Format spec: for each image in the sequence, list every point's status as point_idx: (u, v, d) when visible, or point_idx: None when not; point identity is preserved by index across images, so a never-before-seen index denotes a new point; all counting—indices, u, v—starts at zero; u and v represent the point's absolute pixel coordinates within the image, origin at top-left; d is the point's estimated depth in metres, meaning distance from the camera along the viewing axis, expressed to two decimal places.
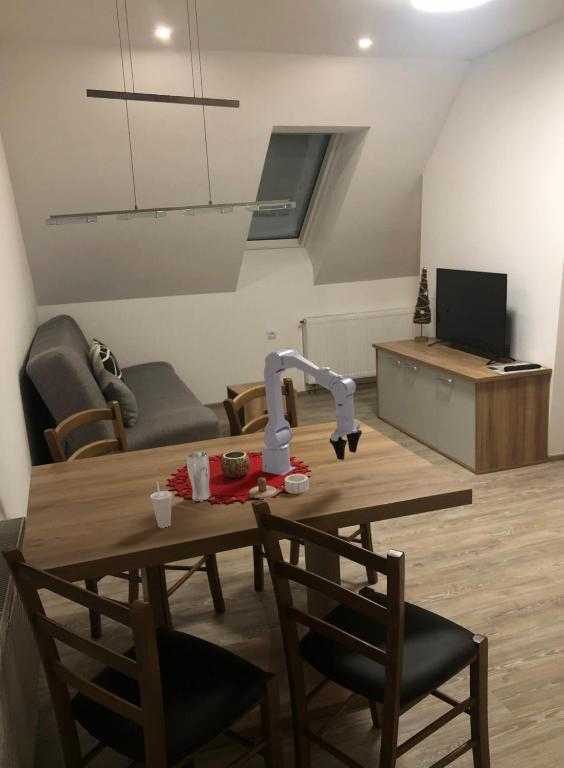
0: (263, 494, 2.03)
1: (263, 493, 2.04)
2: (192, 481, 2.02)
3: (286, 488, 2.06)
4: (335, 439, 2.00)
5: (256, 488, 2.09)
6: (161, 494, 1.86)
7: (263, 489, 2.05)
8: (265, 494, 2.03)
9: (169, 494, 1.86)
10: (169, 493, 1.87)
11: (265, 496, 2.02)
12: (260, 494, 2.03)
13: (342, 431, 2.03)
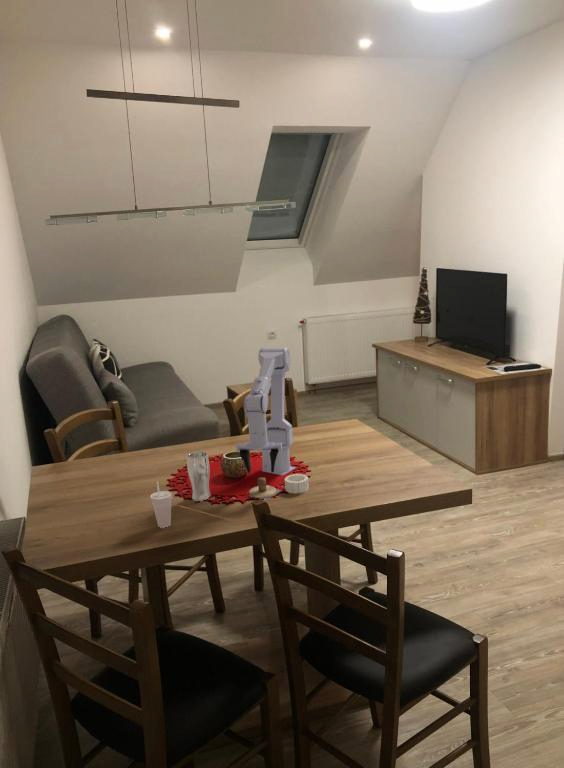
0: (263, 494, 2.03)
1: (263, 493, 2.04)
2: (192, 481, 2.02)
3: (286, 488, 2.06)
4: (236, 449, 2.04)
5: (256, 488, 2.09)
6: (161, 494, 1.86)
7: (263, 489, 2.05)
8: (265, 494, 2.03)
9: (169, 494, 1.86)
10: (169, 493, 1.87)
11: (265, 496, 2.02)
12: (260, 494, 2.03)
13: (249, 445, 2.03)
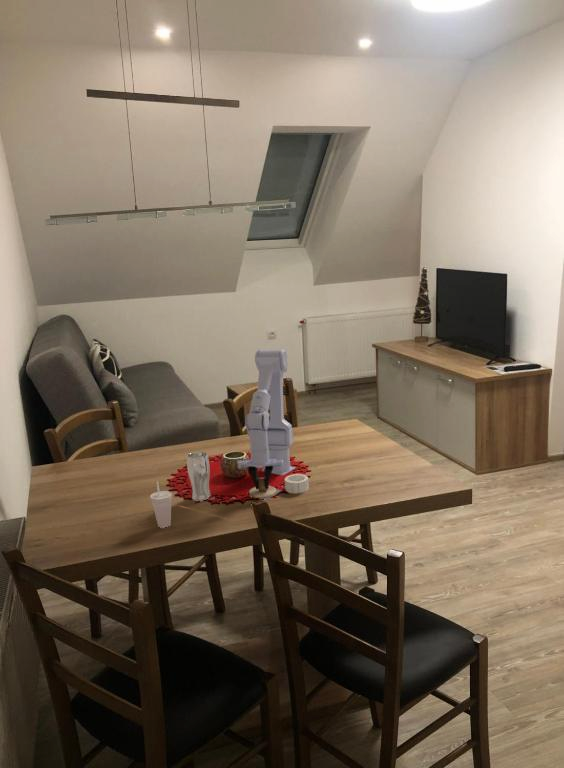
0: (263, 494, 2.03)
1: (263, 493, 2.04)
2: (192, 481, 2.02)
3: (286, 488, 2.06)
4: (238, 466, 2.05)
5: None
6: (161, 494, 1.86)
7: (263, 489, 2.05)
8: (265, 494, 2.03)
9: (169, 494, 1.86)
10: (169, 493, 1.87)
11: (265, 496, 2.02)
12: (260, 494, 2.03)
13: (251, 462, 2.04)
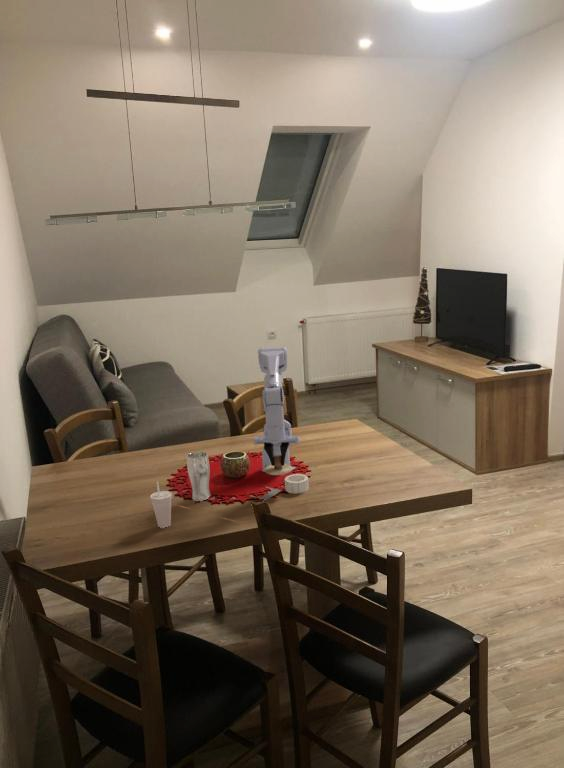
0: (279, 471, 2.02)
1: (279, 470, 2.03)
2: (192, 481, 2.02)
3: (286, 488, 2.06)
4: None
5: (272, 466, 2.08)
6: (161, 494, 1.86)
7: (279, 466, 2.04)
8: (281, 471, 2.02)
9: (169, 494, 1.86)
10: (169, 493, 1.87)
11: (280, 473, 2.01)
12: (275, 471, 2.02)
13: (267, 438, 2.03)
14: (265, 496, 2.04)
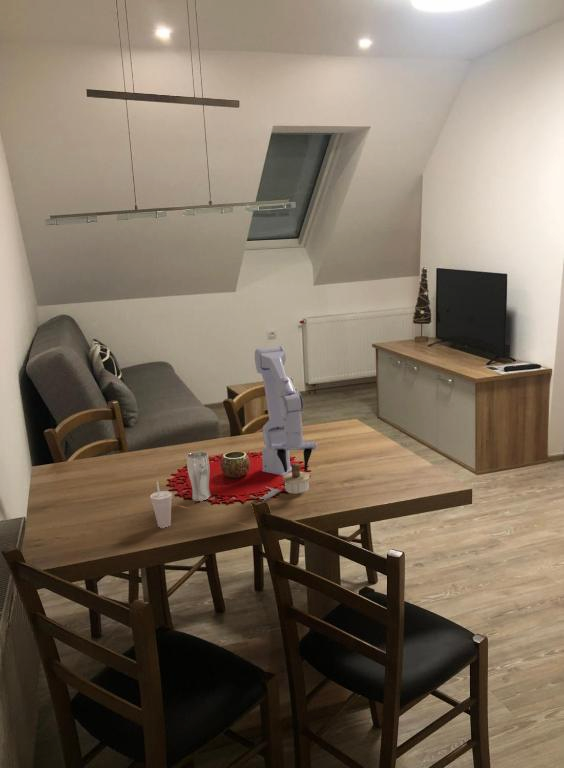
0: (297, 480, 2.04)
1: (297, 478, 2.05)
2: (192, 481, 2.02)
3: (286, 488, 2.06)
4: (271, 449, 2.05)
5: (289, 474, 2.09)
6: (161, 494, 1.86)
7: (297, 475, 2.06)
8: (299, 480, 2.04)
9: (169, 494, 1.86)
10: (169, 493, 1.87)
11: (299, 481, 2.03)
12: (294, 480, 2.04)
13: (285, 444, 2.04)
14: (265, 496, 2.04)
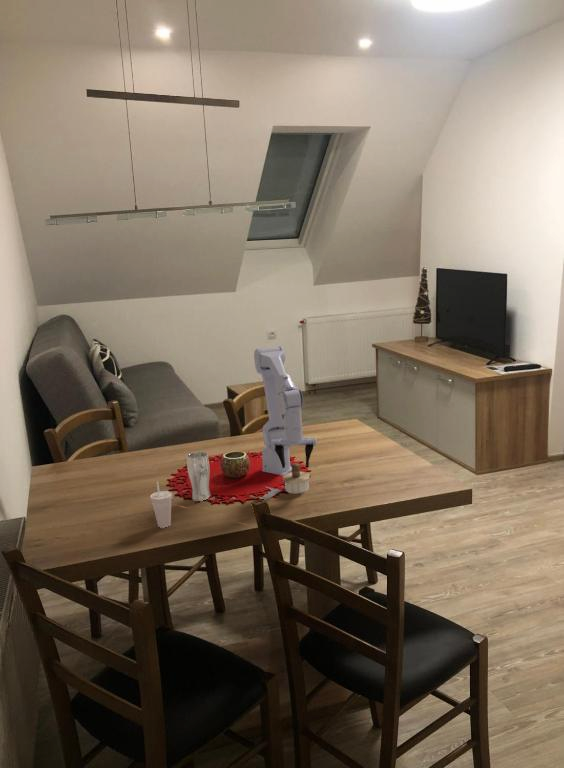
0: (297, 480, 2.04)
1: (297, 478, 2.05)
2: (192, 481, 2.02)
3: (286, 488, 2.06)
4: (271, 445, 2.05)
5: (289, 474, 2.09)
6: (161, 494, 1.86)
7: (297, 475, 2.06)
8: (299, 480, 2.04)
9: (169, 494, 1.86)
10: (169, 493, 1.87)
11: (299, 481, 2.03)
12: (294, 480, 2.04)
13: (284, 440, 2.04)
14: (265, 496, 2.04)
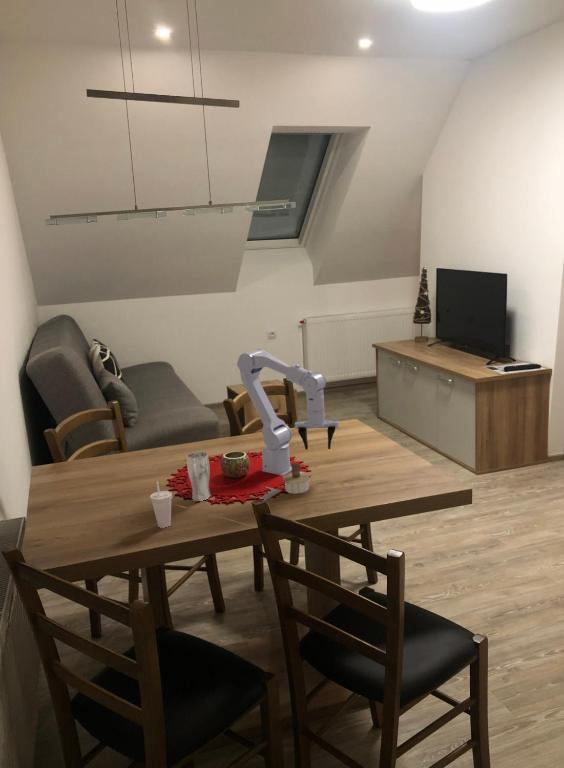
0: (297, 480, 2.04)
1: (297, 478, 2.05)
2: (192, 481, 2.02)
3: (286, 488, 2.06)
4: (295, 427, 2.14)
5: (289, 474, 2.09)
6: (161, 494, 1.86)
7: (297, 475, 2.06)
8: (299, 480, 2.04)
9: (169, 494, 1.86)
10: (169, 493, 1.87)
11: (299, 481, 2.03)
12: (294, 480, 2.04)
13: (307, 423, 2.13)
14: (265, 496, 2.04)
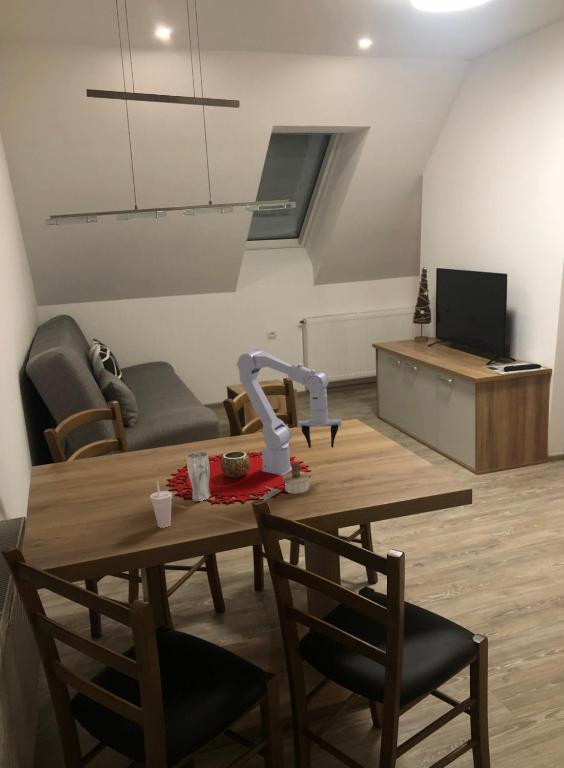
0: (297, 480, 2.04)
1: (297, 478, 2.05)
2: (192, 481, 2.02)
3: (286, 488, 2.06)
4: (298, 426, 2.15)
5: (289, 474, 2.09)
6: (161, 494, 1.86)
7: (297, 475, 2.06)
8: (299, 480, 2.04)
9: (169, 494, 1.86)
10: (169, 493, 1.87)
11: (299, 481, 2.03)
12: (294, 480, 2.04)
13: (311, 421, 2.14)
14: (265, 496, 2.04)
